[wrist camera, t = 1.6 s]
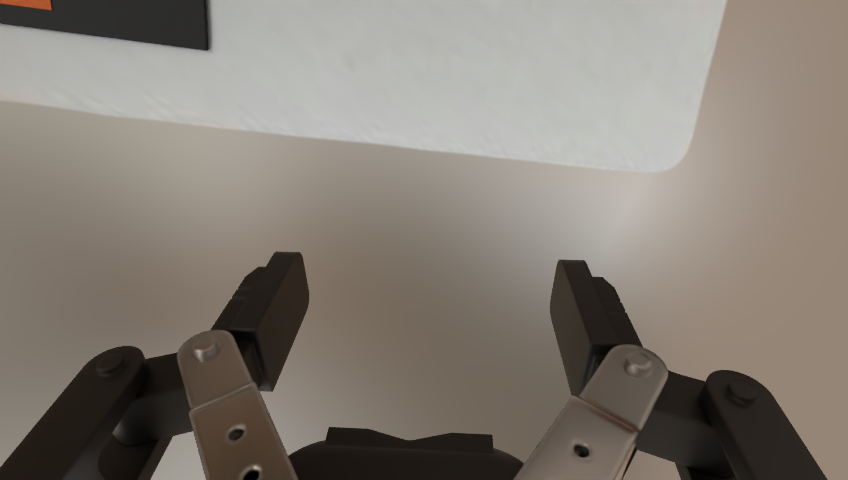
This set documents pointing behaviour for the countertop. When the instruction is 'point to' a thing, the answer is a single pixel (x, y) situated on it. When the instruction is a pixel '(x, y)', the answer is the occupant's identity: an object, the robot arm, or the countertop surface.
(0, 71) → the countertop surface
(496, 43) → the countertop surface
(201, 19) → the mat
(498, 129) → the countertop surface
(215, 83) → the countertop surface
